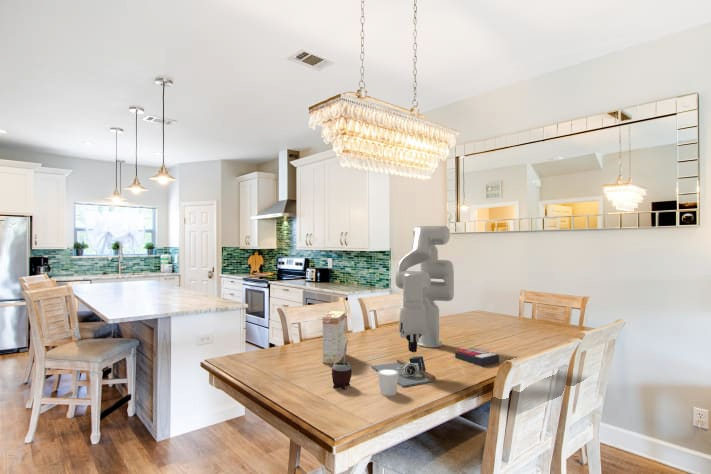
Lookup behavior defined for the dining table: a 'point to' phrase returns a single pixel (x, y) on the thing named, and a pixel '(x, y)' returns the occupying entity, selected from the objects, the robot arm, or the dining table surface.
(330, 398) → the dining table surface
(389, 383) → the white cup
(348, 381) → the mate gourd
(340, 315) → the coffeecake box
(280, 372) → the dining table surface
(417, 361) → the watch
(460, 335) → the dining table surface
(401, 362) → the mat
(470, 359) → the calculator
